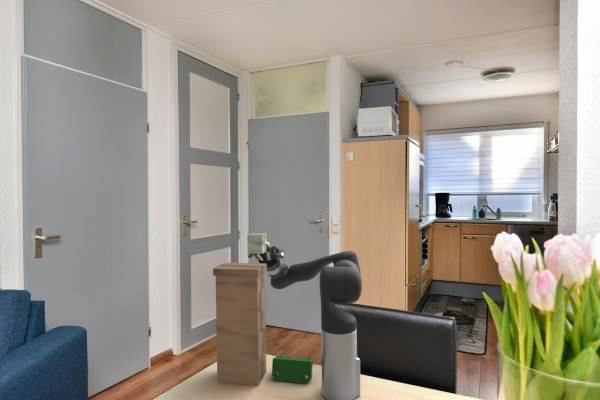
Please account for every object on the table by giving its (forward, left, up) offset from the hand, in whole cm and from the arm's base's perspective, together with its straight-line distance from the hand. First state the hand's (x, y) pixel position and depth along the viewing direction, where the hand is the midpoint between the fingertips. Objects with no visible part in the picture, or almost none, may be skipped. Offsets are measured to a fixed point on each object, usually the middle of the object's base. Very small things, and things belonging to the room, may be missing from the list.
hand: (259, 244), depth 129 cm
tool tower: (+10, +17, -35) cm, 41 cm away
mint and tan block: (-1, -1, -2) cm, 3 cm away
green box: (-4, +23, -36) cm, 42 cm away
